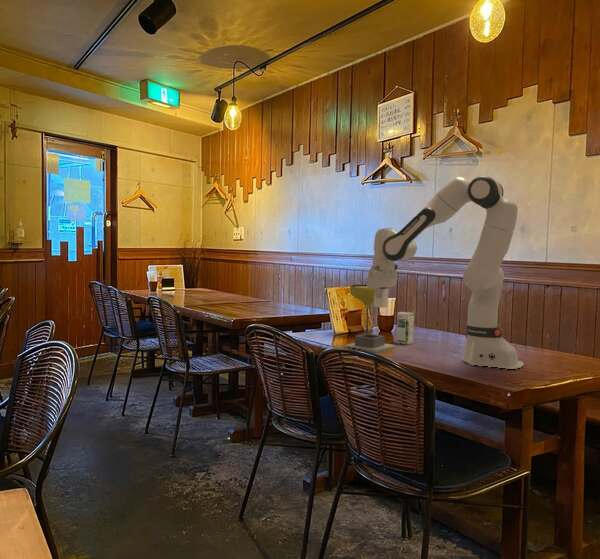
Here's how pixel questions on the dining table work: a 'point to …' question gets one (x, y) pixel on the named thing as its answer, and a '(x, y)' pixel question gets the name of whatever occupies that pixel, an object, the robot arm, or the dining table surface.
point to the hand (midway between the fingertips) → (381, 297)
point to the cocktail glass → (363, 298)
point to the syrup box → (405, 327)
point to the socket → (370, 343)
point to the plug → (381, 298)
